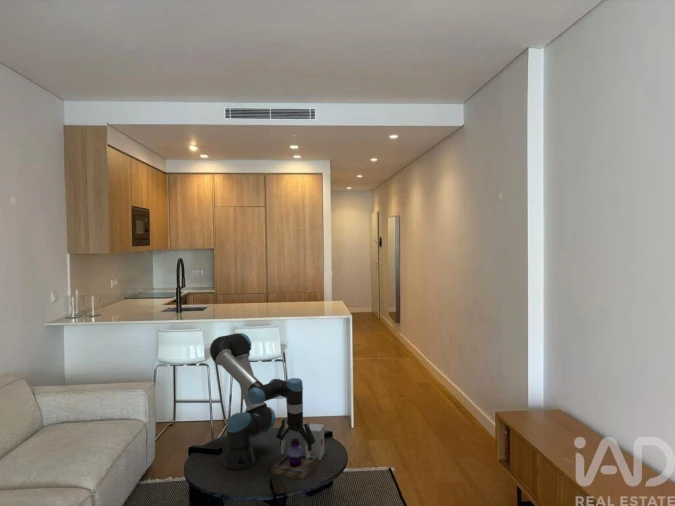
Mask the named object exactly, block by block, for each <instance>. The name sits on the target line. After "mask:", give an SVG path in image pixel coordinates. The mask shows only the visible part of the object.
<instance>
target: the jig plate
mask: <svg viewBox="0 0 675 506" xmlns="http://www.w3.org/2000/svg"><path fill="white" fill-rule="evenodd" d="M320 463H321V460H320V459H318V457H313V456H310V457H309V458H308V459H306V455H304V454H303V456H302V459H301V465H299V466H297V467H296V466H291V465H290V462H289V457H288V455H287V453H286V454H285V455H283V456H282V458H281V459H279V460H278V461H276V463H274V464H273V465H272V467H271V468H270V474H272V475H278V476H283V477H287V478H292V479H296V480H297V479H298V480H301V481H303V480H304V479H305V478H306V477H308V475H309V474H311V472H313V470H315V469H316V468H317V466H318V465H319V464H320Z"/></svg>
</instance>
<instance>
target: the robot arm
mask: <svg viewBox="0 0 675 506" xmlns="http://www.w3.org/2000/svg"><path fill="white" fill-rule="evenodd" d="M251 350H252V342H251V339H250V338H249V336H248V335H247V334H246V333H242V332H235V333H233V334H232V333H231V334H228V335H227V334H226V335H221V336H219V337H218V336H217V337H216V338H214V339H213V340H212V342H211V344H210V347H209V355H210V357H211V359H212V361H213V362H214V363H215V364H216V365H217V366H221V368H223V369H224V370H225V372H227V373H228V374H229V375H230V376H231V377H232V378H233V379H234V380H235V381H236V382H237V383H238V384H239V387H240V390H241V393H242V397H243V400H244V403H245V406H246V407H245V410H244V411H242V412H237V413H236V412H235V413H234V414H232V415H231V416H229V418H228V419H227V421H226V424H227V425H226V435H227V436H226V443H227V444H226V445H227V446H226V447H227V448H226V452H225V455H224V459H223V465H224V467H225V468H226V469H228V470H232V471H239V470H245V469H248V468H250V467H252V466H253V465H254V464H255V463H256V456H255V453H254V450H253V447H252V439H253V438H255V437H257V436H260V435H263V434H266V433H268V432H269V431H271V430H272V429H273V428H274V427H275V424H276V414H275V410H273V408H272V407H270V406H268V405H267V403H266V402H267V401H270V400H274V399H275V398H279V397H282V398H285V399H286V404H287V405H286V406H287V407H286V408H287V412H286V413H287V416H286V417H287V418H284V419H283V420H281V425H280V428H279V429H278V431H277V433H276V435H275V437H276V439H279V446H280V449H281V453H280V454H281V455H283V454H284V453H287V449H286V438H285V437H286V436H287V435H288V433H289V432H290V431H291V432H298V434H300V436H301V437H302V439H303V441H304V440H305V441H306V443H307V445H306V459H308V458H309V457H310V451H311V450H312V444H313V443H315V439H314V437H313V434H312V432H311V430H310V427H309V424H310V422H304V411H303V410H304V402H303V400H304V398H303V397H304V396H303V395H304V394H303V390H304V386H303V380H302V379H301V378H297V377H292V378H289V379H287V380H282V379H280V378H272V379H271V380H270V381H269V382H268V383H266V384H263V383H262V382H261V381H260V380H259V379H258V378H257V377H256V376H255V375H254V371H253V368H252V366H251V362H250V359H249V358H250V356H251V353H250V352H251ZM286 425H287V426H288V427H287V428H286V429H285V427H286ZM284 429H285V431H284ZM304 429H305V431H306V432H305V431H304ZM283 431H284V432H283ZM306 433H307V434H306Z"/></svg>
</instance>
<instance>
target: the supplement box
mask: <svg viewBox="0 0 675 506" xmlns="http://www.w3.org/2000/svg"><path fill="white" fill-rule="evenodd" d="M309 427H310V430H311V432H312V434H313V437H314V439H315V443H313V444H312V450H311V451H310V456H313V457H318V459H320V461H321V460H322V458H323V456H324V454H325V424H323V423H322V424H319V423H309ZM304 431H305V428H304ZM305 432H306V431H305ZM306 434H307V433H306ZM306 445H307V443H306V441H305V440H304V439H303V448H304V452H303V455H306Z"/></svg>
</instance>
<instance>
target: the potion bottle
mask: <svg viewBox="0 0 675 506" xmlns="http://www.w3.org/2000/svg"><path fill="white" fill-rule="evenodd" d="M300 444H301V442H300V440H299V438H296V437H295V438H292V439H291V441H290V447H287V449H286V454H287V455H288V457H289V462H290V465H291V466H296V467H297V466H299V465H301V459H302V456H303V455H304V447H303V446H301V445H300Z"/></svg>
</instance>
